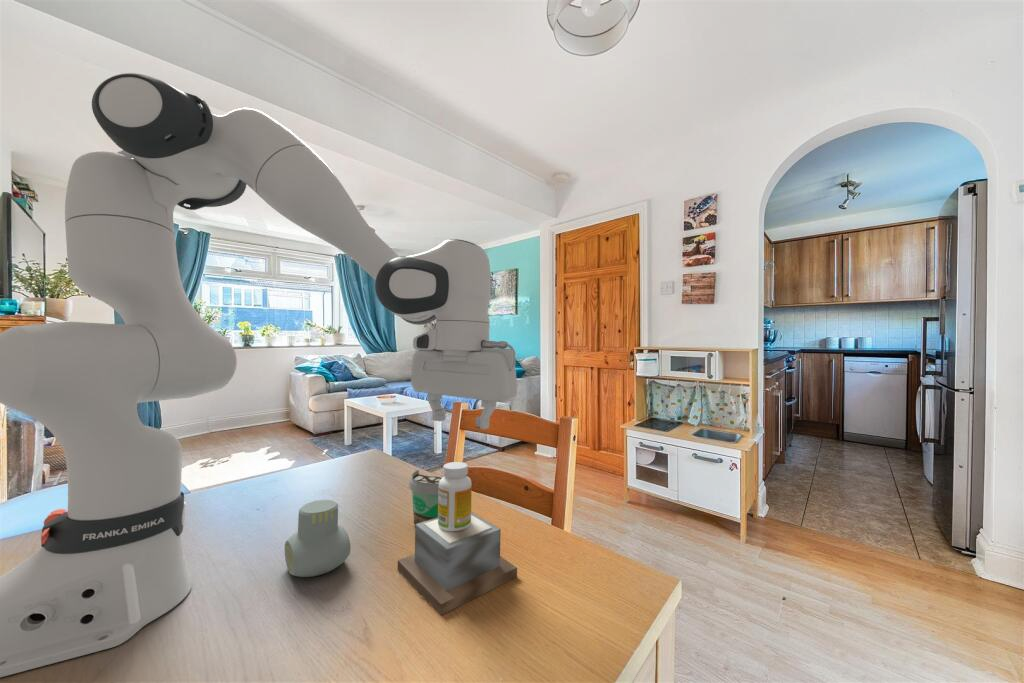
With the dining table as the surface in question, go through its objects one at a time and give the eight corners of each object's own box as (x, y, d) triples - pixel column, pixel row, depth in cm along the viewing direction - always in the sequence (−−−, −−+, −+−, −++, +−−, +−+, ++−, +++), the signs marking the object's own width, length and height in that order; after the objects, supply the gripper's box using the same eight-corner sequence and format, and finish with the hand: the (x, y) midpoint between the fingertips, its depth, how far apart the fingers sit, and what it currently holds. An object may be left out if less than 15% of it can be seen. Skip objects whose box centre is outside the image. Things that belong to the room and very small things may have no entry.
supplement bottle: (473, 518, 65) (474, 461, 65) (467, 533, 59) (469, 470, 60) (442, 516, 65) (443, 459, 65) (433, 531, 60) (435, 469, 60)
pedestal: (440, 615, 52) (442, 558, 52) (397, 569, 63) (398, 522, 63) (517, 576, 61) (518, 528, 61) (468, 542, 72) (468, 501, 72)
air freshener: (353, 572, 61) (355, 510, 62) (296, 593, 56) (298, 525, 56) (333, 545, 70) (335, 490, 70) (281, 561, 64) (283, 501, 64)
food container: (394, 526, 77) (395, 477, 78) (415, 515, 83) (416, 469, 83) (442, 542, 72) (444, 488, 72) (461, 528, 77) (462, 479, 77)
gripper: (526, 341, 60) (523, 430, 59) (432, 340, 71) (430, 414, 71) (503, 340, 54) (500, 437, 54) (406, 338, 66) (403, 419, 65)
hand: (459, 424), depth 62 cm, fingers open, 8 cm apart
